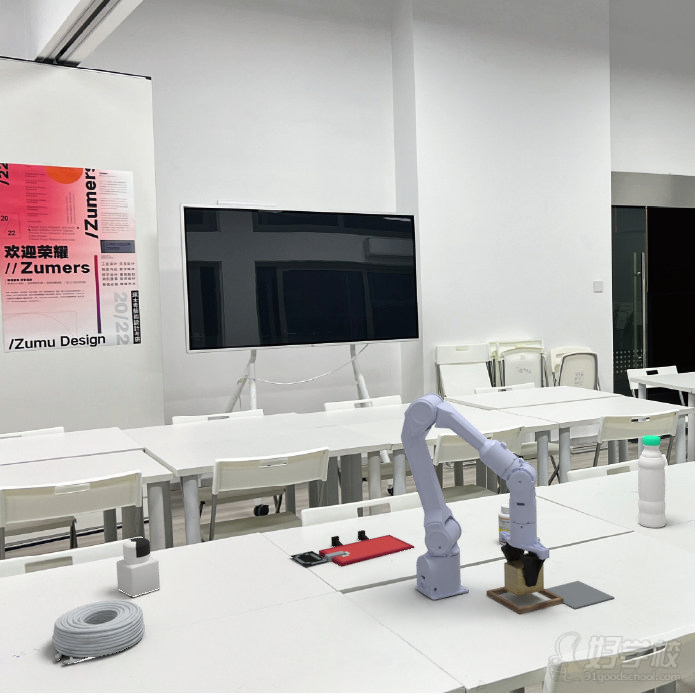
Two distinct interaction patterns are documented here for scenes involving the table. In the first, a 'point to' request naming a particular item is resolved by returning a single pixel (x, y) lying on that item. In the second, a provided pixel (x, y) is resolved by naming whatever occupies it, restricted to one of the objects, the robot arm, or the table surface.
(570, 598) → the mat
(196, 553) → the table surface
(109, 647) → the cable
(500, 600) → the wooden frame
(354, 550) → the red board with handle
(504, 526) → the supplement bottle
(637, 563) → the table surface
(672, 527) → the table surface
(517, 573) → the tan box
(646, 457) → the water bottle
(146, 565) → the medicine bottle
